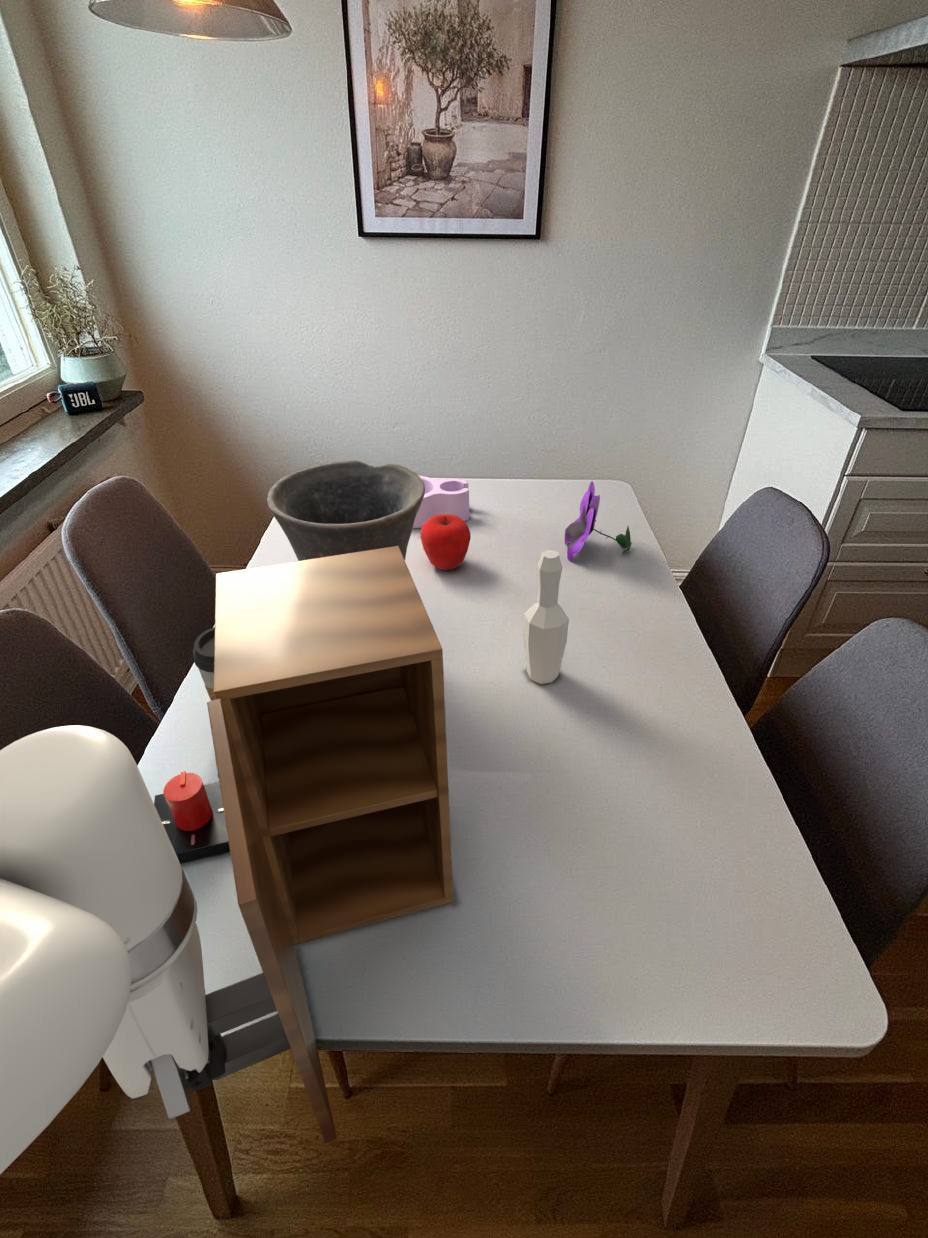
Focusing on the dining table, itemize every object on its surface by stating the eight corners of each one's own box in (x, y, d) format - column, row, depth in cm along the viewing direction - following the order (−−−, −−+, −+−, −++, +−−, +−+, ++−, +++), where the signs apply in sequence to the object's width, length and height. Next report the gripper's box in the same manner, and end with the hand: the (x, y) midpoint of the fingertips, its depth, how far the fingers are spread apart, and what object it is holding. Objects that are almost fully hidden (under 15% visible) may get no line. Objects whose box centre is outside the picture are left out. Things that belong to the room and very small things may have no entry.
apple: (412, 564, 137) (409, 515, 130) (449, 548, 142) (448, 500, 135) (443, 584, 131) (441, 533, 124) (480, 566, 135) (480, 517, 129)
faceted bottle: (514, 670, 109) (518, 551, 96) (545, 656, 112) (554, 538, 99) (539, 692, 105) (546, 570, 92) (570, 677, 108) (582, 557, 95)
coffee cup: (203, 733, 99) (176, 652, 90) (236, 697, 105) (214, 617, 96) (253, 746, 96) (230, 664, 88) (283, 708, 103) (265, 628, 94)
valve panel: (240, 850, 82) (236, 838, 81) (152, 870, 80) (147, 859, 79) (238, 788, 90) (235, 777, 89) (159, 805, 88) (154, 794, 87)
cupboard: (453, 901, 76) (442, 648, 56) (290, 946, 73) (213, 692, 52) (417, 782, 91) (398, 545, 70) (280, 814, 87) (215, 573, 66)
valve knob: (212, 826, 83) (201, 794, 80) (174, 835, 82) (161, 803, 79) (213, 798, 86) (202, 767, 83) (176, 806, 85) (163, 775, 82)
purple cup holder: (468, 501, 160) (467, 474, 155) (469, 526, 149) (469, 497, 145) (382, 503, 159) (380, 476, 155) (378, 529, 149) (375, 500, 145)
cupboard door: (247, 1181, 56) (110, 950, 35) (222, 978, 70) (113, 726, 49) (336, 1138, 58) (256, 899, 38) (295, 950, 72) (220, 698, 51)
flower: (606, 555, 148) (553, 529, 145) (648, 500, 140) (592, 471, 137) (616, 592, 136) (558, 564, 133) (662, 534, 128) (601, 503, 125)
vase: (272, 665, 111) (233, 496, 94) (362, 604, 125) (343, 447, 108) (372, 719, 101) (349, 540, 83) (458, 645, 115) (454, 479, 97)
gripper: (62, 826, 44) (146, 972, 54) (29, 1096, 31) (146, 1214, 42) (184, 792, 46) (242, 938, 57) (199, 1032, 33) (269, 1160, 44)
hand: (201, 1055), depth 49 cm, fingers closed
